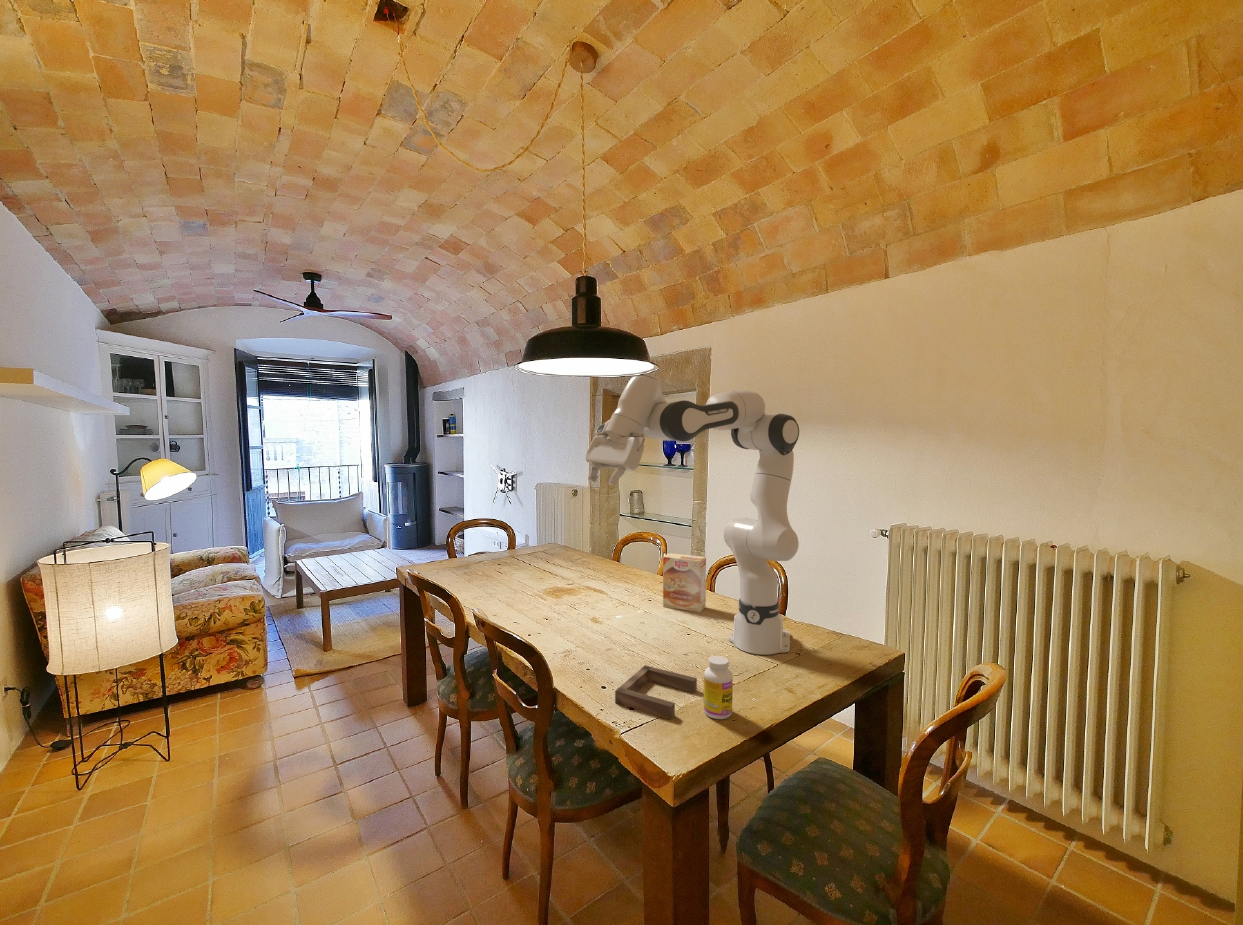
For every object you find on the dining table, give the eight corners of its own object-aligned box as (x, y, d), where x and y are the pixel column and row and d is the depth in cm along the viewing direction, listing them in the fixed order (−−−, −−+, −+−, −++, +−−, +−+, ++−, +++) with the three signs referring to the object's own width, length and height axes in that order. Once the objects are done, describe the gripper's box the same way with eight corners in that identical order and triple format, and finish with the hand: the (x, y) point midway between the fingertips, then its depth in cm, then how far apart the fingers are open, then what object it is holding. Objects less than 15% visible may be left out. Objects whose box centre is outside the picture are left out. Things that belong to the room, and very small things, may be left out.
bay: (645, 676, 141) (645, 665, 140) (696, 689, 133) (696, 678, 133) (615, 702, 127) (615, 690, 127) (671, 719, 119) (671, 706, 119)
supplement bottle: (722, 724, 117) (723, 669, 117) (698, 713, 122) (698, 660, 121) (737, 712, 122) (738, 659, 122) (713, 702, 127) (713, 651, 126)
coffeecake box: (662, 607, 196) (662, 556, 195) (669, 601, 203) (669, 552, 202) (700, 612, 190) (700, 560, 189) (706, 607, 196) (706, 556, 195)
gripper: (656, 439, 123) (633, 492, 120) (611, 438, 140) (590, 484, 137) (637, 427, 120) (613, 481, 117) (593, 427, 137) (572, 474, 134)
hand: (600, 482), depth 127 cm, fingers open, 8 cm apart
